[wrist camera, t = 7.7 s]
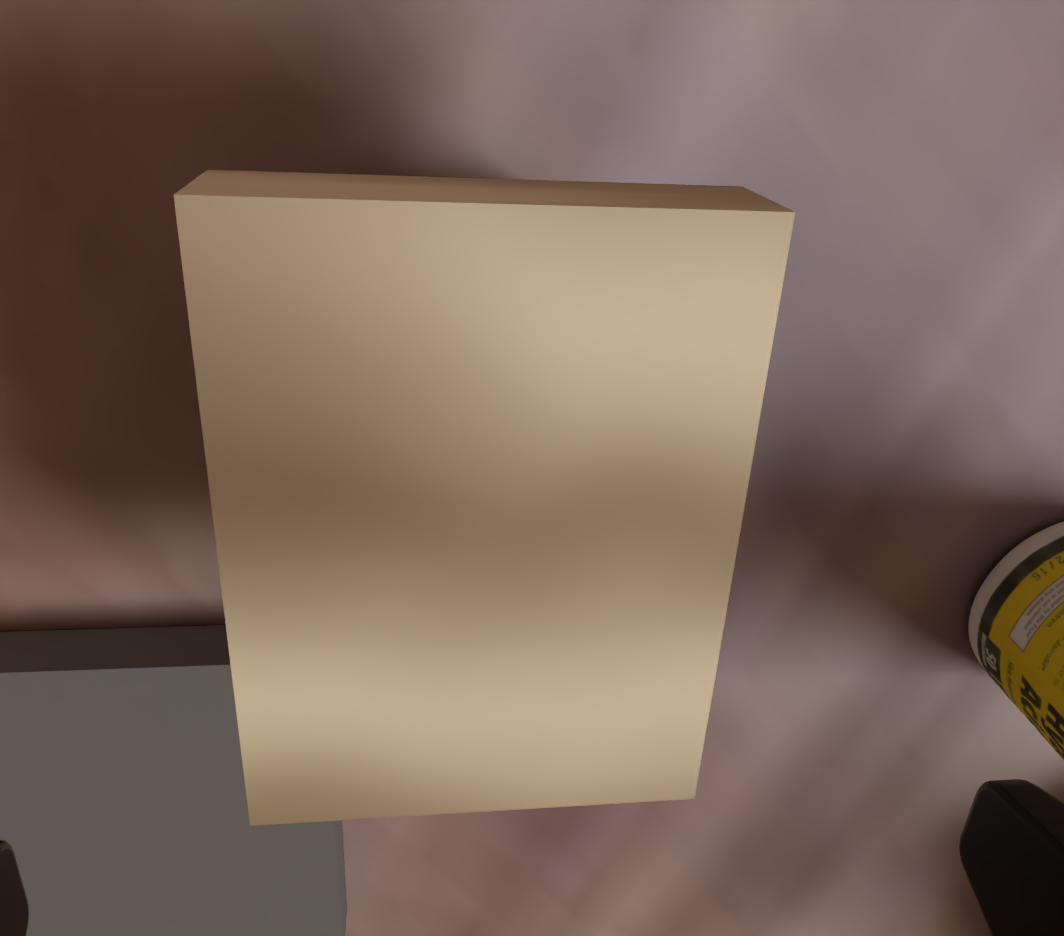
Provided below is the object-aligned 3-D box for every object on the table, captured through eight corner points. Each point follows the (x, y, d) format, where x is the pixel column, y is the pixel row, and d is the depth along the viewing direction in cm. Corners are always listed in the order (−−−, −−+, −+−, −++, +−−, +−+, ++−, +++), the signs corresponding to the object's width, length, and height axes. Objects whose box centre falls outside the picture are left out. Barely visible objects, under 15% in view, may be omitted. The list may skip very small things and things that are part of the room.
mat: (347, 909, 26) (343, 957, 24) (-28, 936, 24) (-53, 988, 23) (330, 621, 21) (325, 661, 20) (-126, 635, 20) (-164, 679, 19)
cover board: (664, 719, 17) (694, 798, 16) (267, 739, 16) (250, 826, 15) (742, 186, 13) (795, 212, 11) (207, 169, 12) (173, 194, 10)
